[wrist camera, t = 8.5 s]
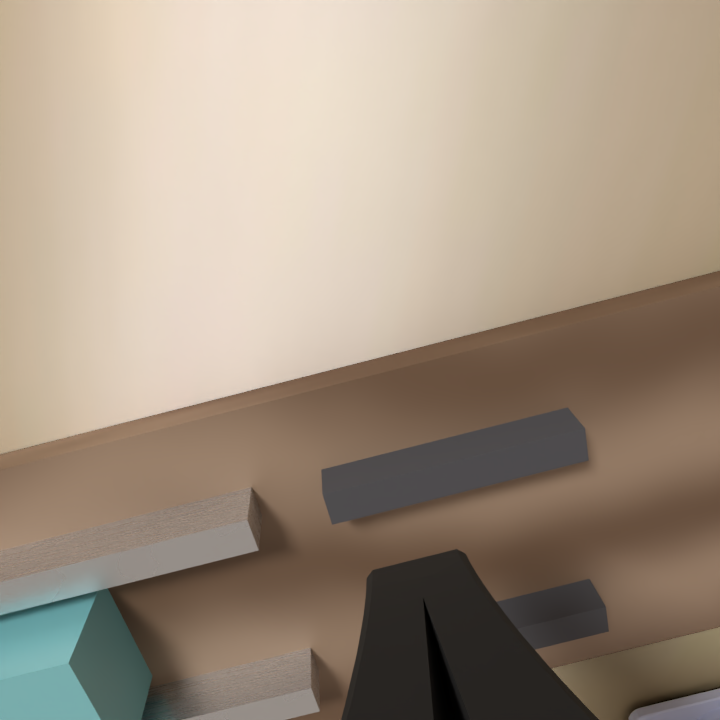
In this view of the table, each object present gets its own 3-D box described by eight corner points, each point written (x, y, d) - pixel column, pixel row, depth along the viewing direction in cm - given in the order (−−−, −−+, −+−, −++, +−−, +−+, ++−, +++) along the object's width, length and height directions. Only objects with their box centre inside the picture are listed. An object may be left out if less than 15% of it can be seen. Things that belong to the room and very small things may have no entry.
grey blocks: (592, 602, 21) (609, 631, 20) (379, 655, 21) (383, 686, 20) (567, 407, 18) (585, 428, 17) (321, 469, 18) (322, 494, 17)
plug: (152, 675, 20) (128, 767, 18) (-1, 714, 20) (-48, 811, 18) (102, 579, 19) (68, 663, 16) (-63, 620, 19) (-126, 711, 16)
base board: (742, 594, 22) (761, 616, 21) (-62, 792, 23) (-77, 822, 22) (740, 265, 18) (764, 275, 17) (-270, 523, 18) (-300, 546, 17)
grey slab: (318, 670, 21) (319, 711, 19) (-11, 751, 21) (-33, 797, 20) (251, 487, 18) (247, 520, 17) (-128, 582, 18) (-163, 623, 17)
